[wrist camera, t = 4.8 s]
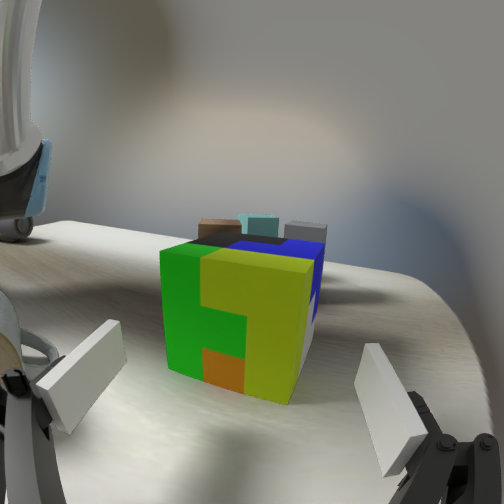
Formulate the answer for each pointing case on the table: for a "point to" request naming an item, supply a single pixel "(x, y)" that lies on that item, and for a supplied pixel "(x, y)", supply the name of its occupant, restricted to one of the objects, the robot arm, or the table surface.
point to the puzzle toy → (241, 310)
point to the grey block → (306, 232)
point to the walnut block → (218, 227)
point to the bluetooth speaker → (15, 229)
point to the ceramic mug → (19, 343)
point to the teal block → (259, 224)
